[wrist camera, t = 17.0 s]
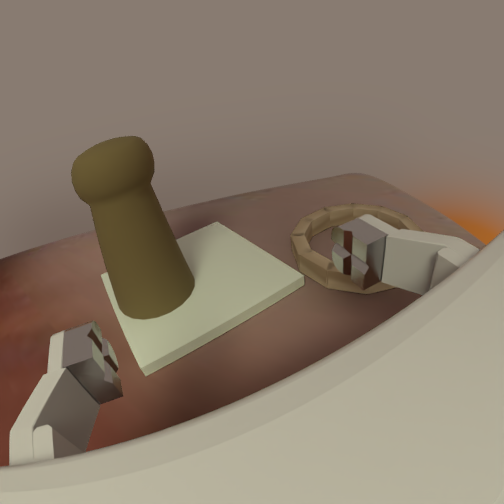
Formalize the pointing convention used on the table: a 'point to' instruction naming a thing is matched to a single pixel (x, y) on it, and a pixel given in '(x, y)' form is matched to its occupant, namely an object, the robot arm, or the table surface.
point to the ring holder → (334, 216)
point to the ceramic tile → (209, 296)
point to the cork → (132, 228)
